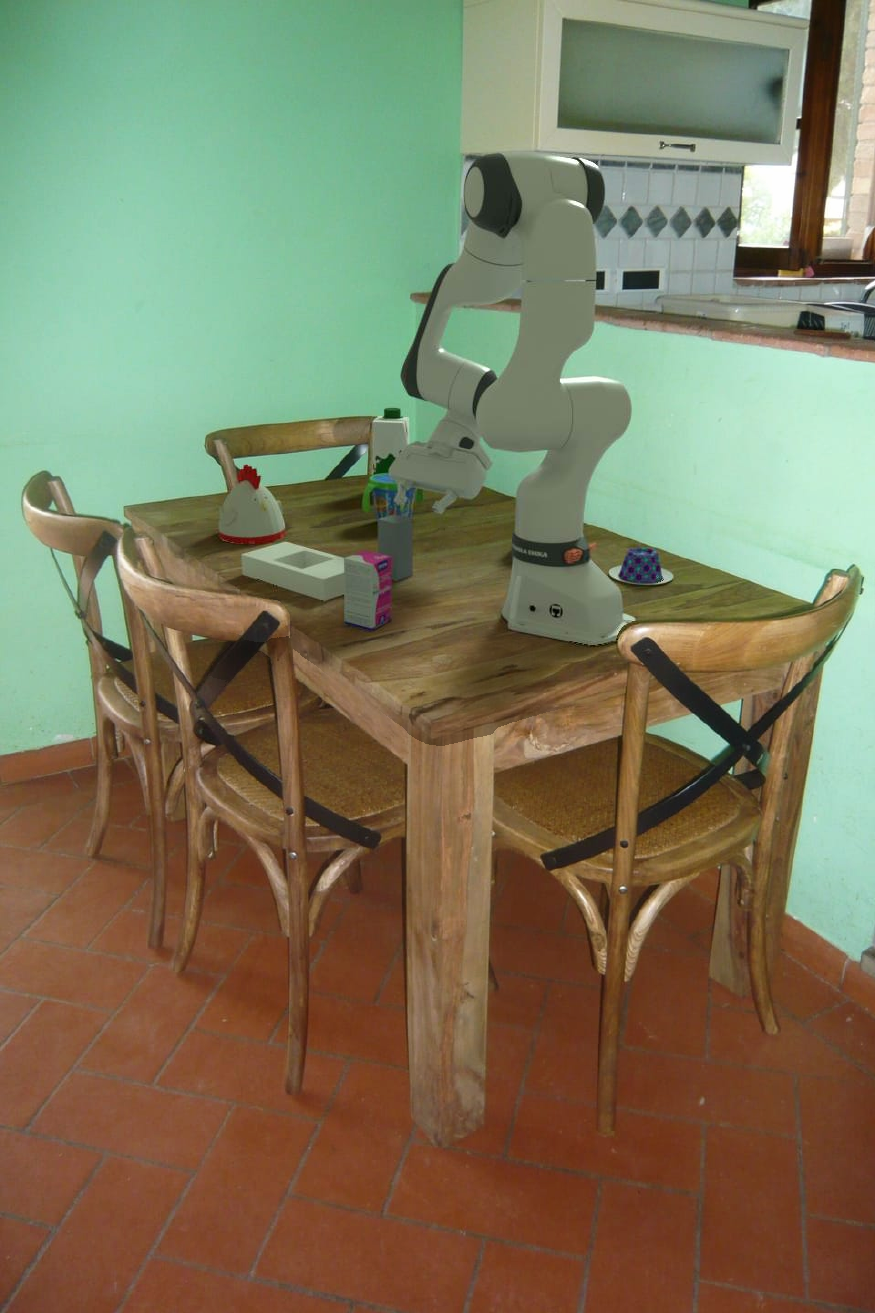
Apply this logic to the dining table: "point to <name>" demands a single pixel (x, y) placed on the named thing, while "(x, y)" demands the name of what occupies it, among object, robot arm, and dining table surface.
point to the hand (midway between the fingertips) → (417, 507)
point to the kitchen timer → (251, 512)
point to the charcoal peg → (396, 544)
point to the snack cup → (388, 497)
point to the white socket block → (297, 569)
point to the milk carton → (388, 439)
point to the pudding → (641, 568)
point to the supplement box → (367, 590)
